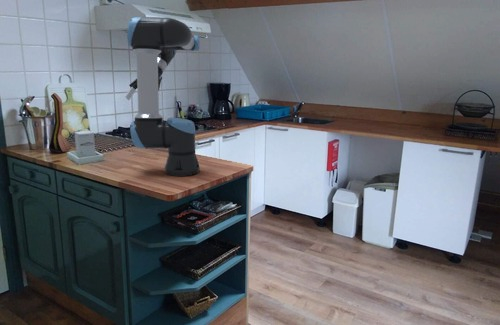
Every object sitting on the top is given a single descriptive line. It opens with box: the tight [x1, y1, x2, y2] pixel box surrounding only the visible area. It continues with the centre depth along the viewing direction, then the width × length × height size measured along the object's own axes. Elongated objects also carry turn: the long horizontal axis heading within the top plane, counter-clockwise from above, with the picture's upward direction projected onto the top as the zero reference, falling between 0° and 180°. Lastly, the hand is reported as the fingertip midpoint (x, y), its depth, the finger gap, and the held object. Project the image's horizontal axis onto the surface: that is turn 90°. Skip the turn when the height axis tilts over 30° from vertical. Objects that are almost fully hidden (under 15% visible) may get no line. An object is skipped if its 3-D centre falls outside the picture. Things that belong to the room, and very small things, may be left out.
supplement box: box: [74, 130, 96, 158], centre depth 189 cm, size 7×7×13 cm
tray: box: [66, 150, 105, 166], centre depth 190 cm, size 16×12×3 cm
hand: (135, 99), depth 198 cm, fingers open, 13 cm apart
